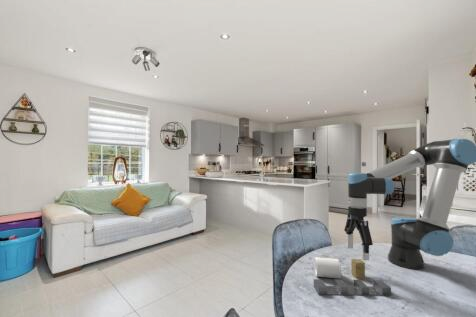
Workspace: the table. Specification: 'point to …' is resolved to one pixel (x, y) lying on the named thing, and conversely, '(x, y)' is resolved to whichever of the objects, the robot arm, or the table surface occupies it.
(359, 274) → the block
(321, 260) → the mug
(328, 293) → the rail
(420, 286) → the table surface
